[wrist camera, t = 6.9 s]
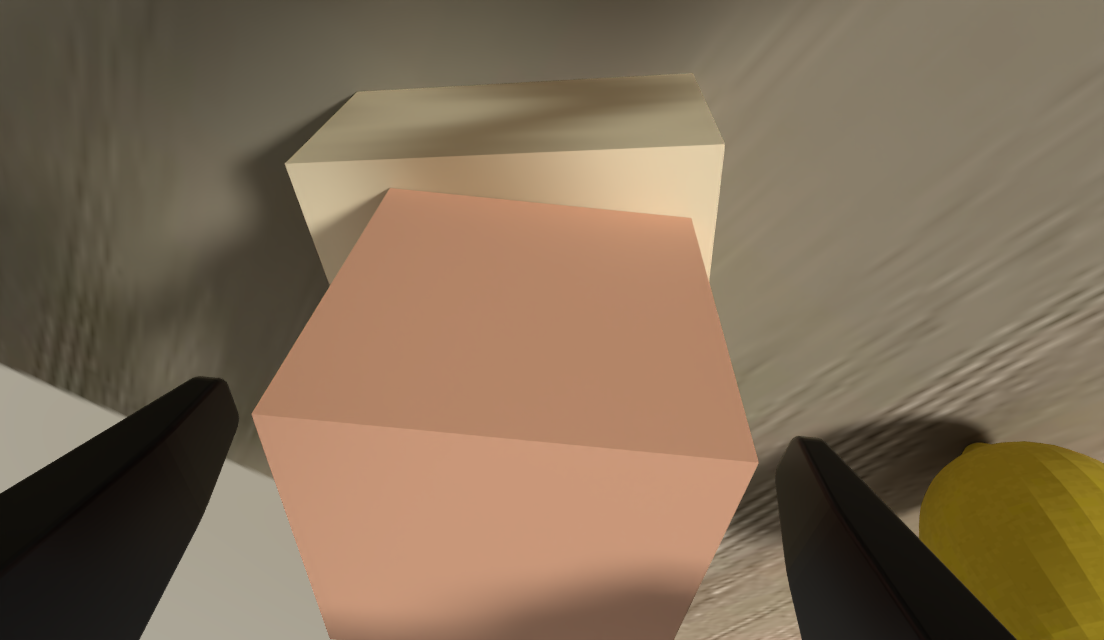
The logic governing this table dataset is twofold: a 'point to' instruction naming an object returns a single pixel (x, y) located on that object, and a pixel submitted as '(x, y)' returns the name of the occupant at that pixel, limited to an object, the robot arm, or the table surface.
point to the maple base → (515, 152)
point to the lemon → (1023, 535)
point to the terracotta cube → (509, 425)
